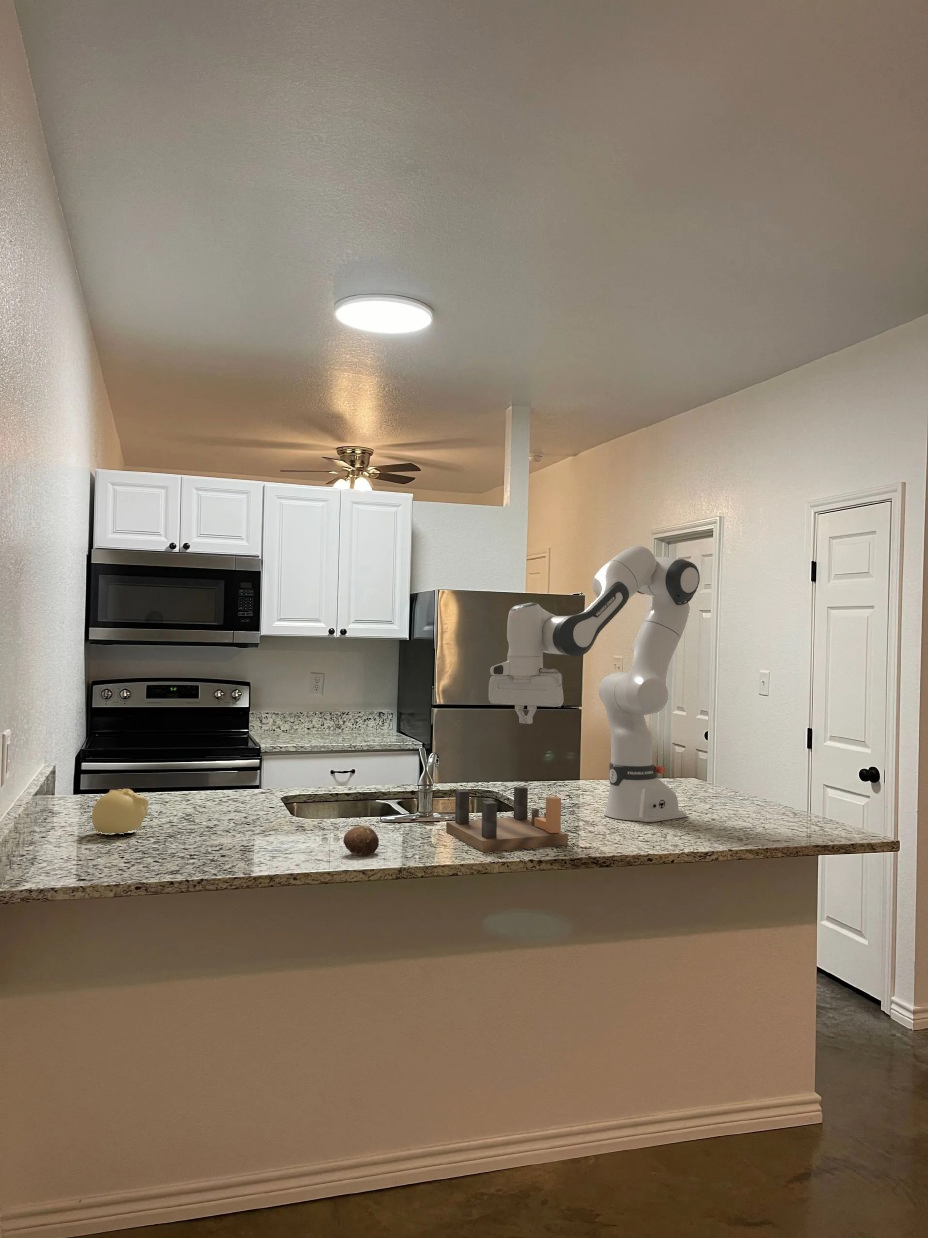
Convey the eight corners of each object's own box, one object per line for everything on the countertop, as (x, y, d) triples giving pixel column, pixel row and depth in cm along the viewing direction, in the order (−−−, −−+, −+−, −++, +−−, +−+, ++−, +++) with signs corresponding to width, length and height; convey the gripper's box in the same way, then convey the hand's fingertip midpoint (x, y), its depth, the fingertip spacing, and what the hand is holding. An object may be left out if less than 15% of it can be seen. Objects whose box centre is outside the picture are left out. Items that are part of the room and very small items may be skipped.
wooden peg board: (525, 825, 239) (526, 784, 239) (567, 844, 219) (568, 799, 219) (446, 832, 230) (446, 789, 230) (482, 852, 210) (482, 805, 210)
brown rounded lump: (343, 833, 212) (352, 814, 209) (376, 846, 213) (385, 828, 210) (335, 857, 205) (344, 838, 202) (368, 871, 206) (378, 852, 203)
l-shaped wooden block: (533, 825, 226) (533, 792, 226) (542, 825, 227) (543, 792, 227) (550, 833, 218) (551, 799, 218) (560, 832, 219) (561, 798, 219)
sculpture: (155, 831, 226) (155, 787, 226) (117, 841, 215) (118, 795, 216) (119, 827, 231) (120, 783, 231) (81, 836, 220) (82, 790, 220)
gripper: (567, 668, 229) (568, 724, 229) (498, 666, 241) (499, 720, 241) (555, 669, 224) (555, 727, 224) (484, 667, 236) (485, 722, 236)
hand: (525, 723), depth 232 cm, fingers closed
